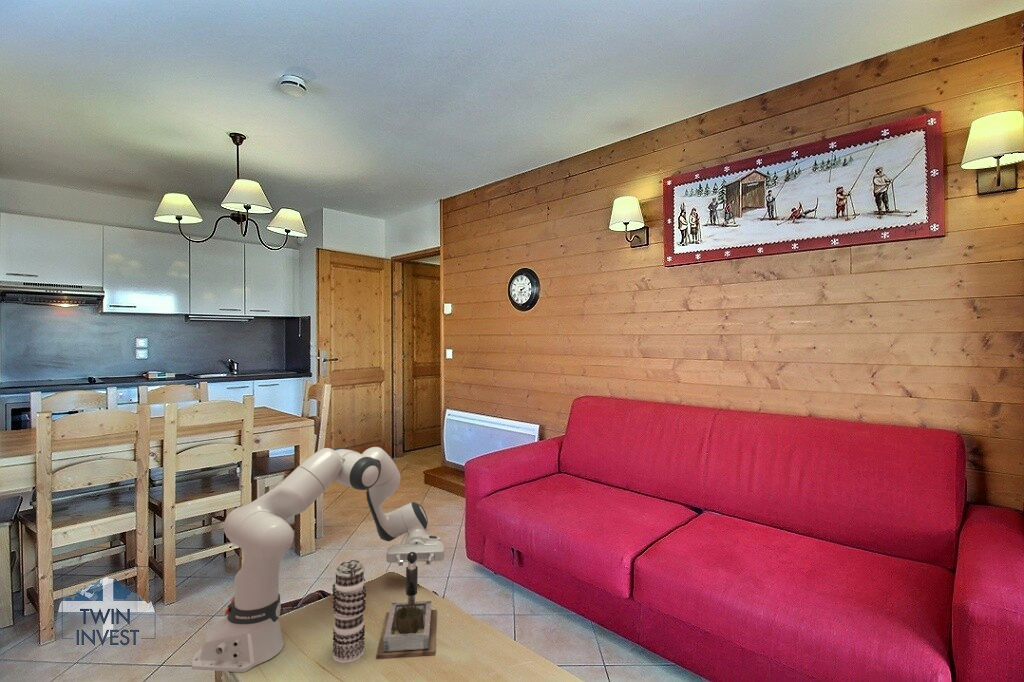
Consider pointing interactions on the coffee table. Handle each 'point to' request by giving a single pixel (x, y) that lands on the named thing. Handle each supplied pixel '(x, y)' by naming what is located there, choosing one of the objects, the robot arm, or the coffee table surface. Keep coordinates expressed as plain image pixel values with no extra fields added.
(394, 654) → the base
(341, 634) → the decorative candle
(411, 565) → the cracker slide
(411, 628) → the cup
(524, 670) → the coffee table surface
